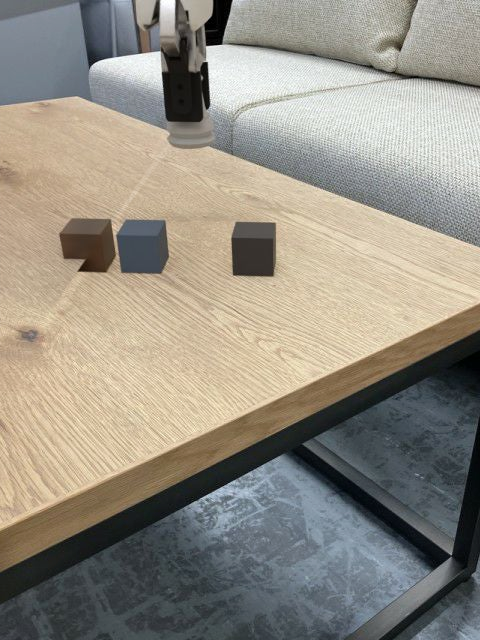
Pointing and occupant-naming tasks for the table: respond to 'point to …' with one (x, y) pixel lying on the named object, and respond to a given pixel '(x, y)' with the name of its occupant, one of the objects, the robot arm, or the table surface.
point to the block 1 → (89, 243)
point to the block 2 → (143, 246)
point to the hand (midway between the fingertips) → (188, 112)
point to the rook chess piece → (192, 126)
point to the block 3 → (254, 248)
